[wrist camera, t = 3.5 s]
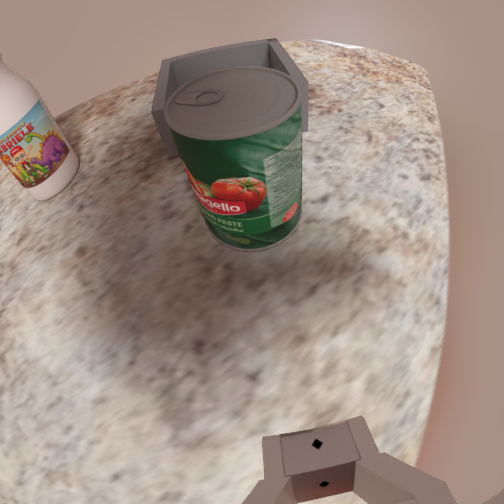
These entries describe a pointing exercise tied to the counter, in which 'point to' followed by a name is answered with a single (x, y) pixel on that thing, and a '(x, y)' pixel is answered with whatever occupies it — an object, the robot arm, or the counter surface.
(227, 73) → the canned tomato
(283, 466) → the robot arm
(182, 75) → the box
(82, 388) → the counter surface
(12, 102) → the milk bottle
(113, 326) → the counter surface
